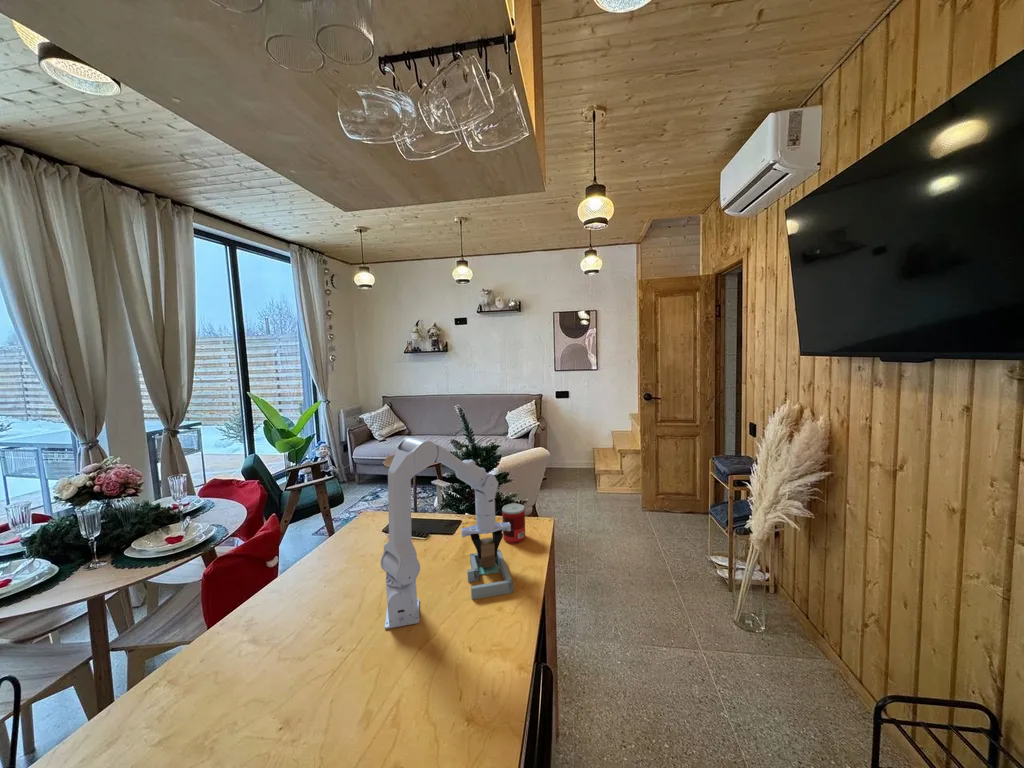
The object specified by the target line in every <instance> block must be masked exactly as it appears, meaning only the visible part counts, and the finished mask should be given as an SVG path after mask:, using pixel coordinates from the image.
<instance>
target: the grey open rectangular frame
mask: <svg viewBox="0 0 1024 768" xmlns="http://www.w3.org/2000/svg"><path fill="white" fill-rule="evenodd" d="M504 558H505V557H504V556H503V554H502V551H501V550H500V549H498V550H497V556H496V557H495V561H496V563H497V566H498V568H499V571H500V573H501V575H502V578H503V580H501V581H496V582H495V581H494V582H488V583H483V584H476V585H471V586H470V594H471V595H470V596H471V600H473V601H474V600H478V599H484V598H490V597H497V596H500V595H502V596H503V595H509V594H512V593H514V581H513V578H512V575H511V574H510V571H509V568H508V566H507V563H506V561H505V559H504ZM469 562H470V563H469V564H470V567H471V569H467V583H472V582H477V581H480V575H479V573H478V567H477V563H480V559H479V558H478V553H477V552H476V553H475V552H474V553H470V554H469Z"/></svg>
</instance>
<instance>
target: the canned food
mask: <svg viewBox="0 0 1024 768" xmlns="http://www.w3.org/2000/svg"><path fill="white" fill-rule="evenodd" d="M501 511H502V512H501V513H502V523H505V522H509V523H510V525H511V531H507V530H506V531H502V534H503V538H502V539H503V540H504V541H505V542H506V543H508V544H520V543H521V542H523V541H524V540H525V538H526V516H525V514H526V512H525V505H523V504H520V503H515V502H514V503H508V504H505V505H503V506H502V509H501Z"/></svg>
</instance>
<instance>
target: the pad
mask: <svg viewBox="0 0 1024 768" xmlns="http://www.w3.org/2000/svg"><path fill="white" fill-rule="evenodd" d="M477 567H478V575H479V576H484V575H490V574H497V573H500V568H499V565H498V562H496V561H495V566H493V567H487V568H482V567H481V563H477Z"/></svg>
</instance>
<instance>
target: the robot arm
mask: <svg viewBox="0 0 1024 768" xmlns="http://www.w3.org/2000/svg"><path fill="white" fill-rule="evenodd" d="M434 463H435V464H438V463H440V464H442V465H444V466H445V467H447V468H449V469H451V470H453V471H454V472H455V477H456V478H457V479H458V480H460V481H462V482H464V483H465V484H467V485H469V486H470V488H471V489H472V490H474V503H475V505H474V506H475V522H476V524H474V525H471V526H467V527H462V528H460V530H461V531H460V532H461V538H466V537H467V536H470V538H471V542H472V543H473V545H474V548H475V549H476V553H478V558H479V559H481V551H480V539H481V538H480V537H481V536H480V535H487V534H491V535H492V536H491V537H492V539H493V541H494V546H495V557H496V556H497V550H499V546H500V544H501V541H502V540H503V539H504V538H503V531H506V530H507V531H511V525H510V523H509V522H505V523H503V522H501V521H500V522H499V521H498V522H496V500H495V499H496V496H497V494H496V493H497V490H498V489H499V488H498V487H499V481H498V480H497V476H495V475H494V474H492V473H489V472H486V469H485V468H484V467H480V466H478V465H477V464H476V461H475V460H473V459H464V460H462V459H460V458H458V457H457V456H455V455H454V454H453V453H451V452H450V451H449V450H447V449H446V448H444V447H443V446H441V445H440V444H436V443H434V442H433V441H431V440H425V439H422V438H418V437H415V436H412V435H411V436H410V435H409V436H406V437H404V438H403V439H402V440H401V441H399V443H398V444H397V445H395V454H394V456H393V459H392V462H391V464H390V466H389V468H388V471H387V491H388V492H387V493H388V494H387V495H388V496H387V499H388V504H387V505H388V507H387V508H388V509H387V510H388V542H386V543H385V544H384V545H383V553H382V554H381V557H380V563H379V564H380V567H381V569H382V570H383V571H384V572H385V586H386V588H385V590H386V602H387V603H386V604H387V605H386V613H385V621H384V629H386V630H388V629H394V628H399V627H405V626H409V625H415V624H419V622H420V598H419V597H418V595H417V594H418V593H417V592H418V591H417V578H418V576H419V574H420V572H421V564H420V561H419V560H418V558H417V557H418V556H417V555H418V554H417V551H416V548H415V545H414V544H413V538H412V479H413V478H414V477H415V476H416V475H418V474H419V473H421V472H422V471H424V470H425V469H427V468H428V467H430V466H432V465H433V464H434Z"/></svg>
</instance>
